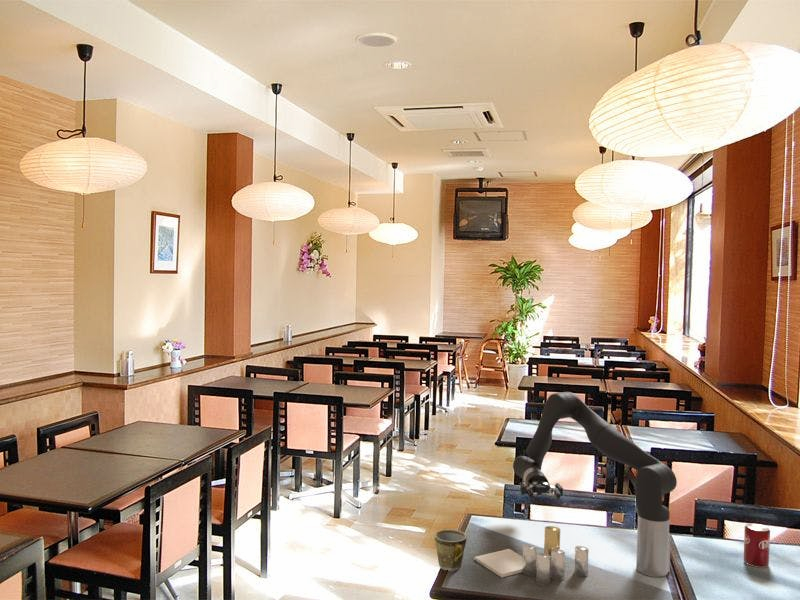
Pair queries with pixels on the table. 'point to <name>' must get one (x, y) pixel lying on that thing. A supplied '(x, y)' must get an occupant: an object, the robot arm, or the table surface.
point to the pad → (502, 562)
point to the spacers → (553, 563)
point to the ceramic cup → (450, 548)
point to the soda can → (756, 545)
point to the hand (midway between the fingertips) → (545, 496)
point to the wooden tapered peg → (551, 539)
